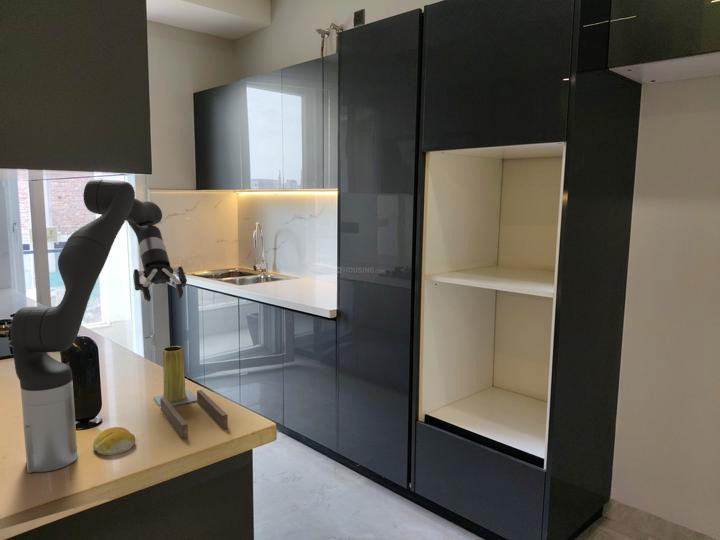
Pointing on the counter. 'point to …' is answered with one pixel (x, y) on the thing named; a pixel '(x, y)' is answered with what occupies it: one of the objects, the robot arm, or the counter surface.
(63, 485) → the counter surface
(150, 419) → the counter surface
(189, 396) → the pad
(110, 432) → the bread roll
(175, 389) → the vase
